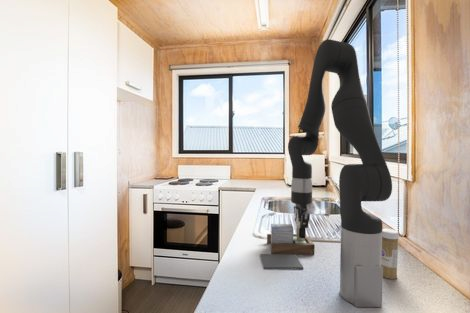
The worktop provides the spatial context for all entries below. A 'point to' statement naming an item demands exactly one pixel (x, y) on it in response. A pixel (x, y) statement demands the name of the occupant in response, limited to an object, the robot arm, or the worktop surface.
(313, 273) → the worktop surface
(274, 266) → the charcoal mat
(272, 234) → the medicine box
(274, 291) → the worktop surface
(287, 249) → the walnut cubby
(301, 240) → the sage rake
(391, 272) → the sprinkles bottle
